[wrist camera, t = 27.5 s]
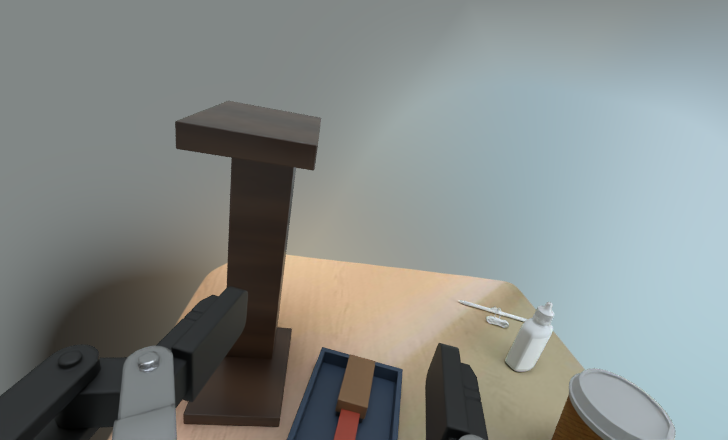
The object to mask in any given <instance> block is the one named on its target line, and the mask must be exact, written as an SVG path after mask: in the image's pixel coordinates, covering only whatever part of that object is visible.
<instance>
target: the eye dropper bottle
mask: <svg viewBox="0 0 728 440" xmlns="http://www.w3.org/2000/svg"><path fill="white" fill-rule="evenodd" d="M551 309H552V303H551V302H547V303H546V304H545V306H538V308H537V309H536V311H535V313H534V315H533V318H530V319H528V320H526V321H525V322H524V323H523V325H522V326H521V328H520V330H519V332H518V334H517V336H516V338H515V340H514V342H513V344H512V346H511V349H510V351H509V353H508V355H507V357H506V359H505V362H506V363H507V364H508V365H509V366H510V367H511V368H512V369H513V370H515V371H518V372H524V371H528V370H530V369H532V368H533V367H534V366H535V364H536V362H537V360H538V358H539V357H540V355H541V353H542V351H543V349H544V347H545V345H546V343H547V341H548V340H549V338H550V336H551V334H552V331H553V327H552V325H551V324H550V323H551V321H552V319H553V317H554V315H555V314H554V312H553V311H552V310H551Z"/></svg>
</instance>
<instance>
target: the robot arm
mask: <svg viewBox="0 0 728 440" xmlns="http://www.w3.org/2000/svg"><path fill="white" fill-rule="evenodd" d="M247 303H248V291H246V290H243V289H239V288H235V287H231V286H229V287H227V288H226V289H225V290H224V291H223V292H222V293H221V295H220V296H215V295H211V296H209V297H207V298H205V299H203V300H202V301H200V302H199V303H198V304H197V305H196V306H195V307H194V308H193V309H192V311H191V312H189V313H188V314H187V315H186V316H185V318H184V319H182V320H181V321H180V322H179V323H178V324H177V325H176V326H175V327H174V328H173V329H172V330H171V331H170V332H169V333H168V334H167V335H166V336H165V337H164V338H163V339H162V340H161V341H160V342H159V343H158V344H157V345H156V346H149V347H145V348H142V349H140V350H138V351H136V352H134V353H133V354H132V355H130V356H129V357H125V358H99V353H98V350H97V349H96V348H95V347H93V346H90V345H74V346H70V347H66V348H64V349H61V350H59V351H57V352H55V353H54V354H52V355H51V356H49V357H48V358H47V359H46V360H45V361H43V362H42V363H41V364H40V365H38V366H37V367H36V368H34V369H33V370H32V371H31V372H30V373H28V374H27V375H26V376H25V377H23V378H22V379H21V380H20V381H18V382H17V383H16V384H15V385H13V386H12V387H11V388H10V389H8V390H7V391H6V392H5V393H3V394H2V395H1V396H0V440H89V439H90V438H91V437H92V436H93V435H94V434H95V432H96V431H97V430H98V429H99V428H100V427H113V434H112V440H177V433H176V411H175V408H176V407H177V406H178V404H179V403H180V402H181V400H182V399H183V400H186V401H190V402H193V401H194V400H195V398H196V397H197V396H198V394H199V393H200V391H201V390H202V389H203V387H204V386H205V384H206V383H207V382H208V380H209V379H210V377H211V376H212V374H213V373H214V372H215V370H216V369H217V367H218V366H219V365H220V363H221V362H222V360H223V359H224V358H225V356H226V355H227V353H228V352H229V351H230V349H231V348H232V346H233V345H234V343H235V342H236V341H237V339H238V338H239V336H240V335H241V333H242V331H243V329H244V327H245V323H246V317H247ZM425 390H426V440H488V436H487V430H486V425H485V419H484V414H483V409H482V403H481V398H480V392H479V387H478V381H477V377H476V375H475V374H474V372H473V370H472V369H471V367H470V365H467V364H464V363H461V361H460V354H459V349H458V348H457V347H453V346H449V345H445V344H442V343H439V344H438V346H437V348H436V351H435V354H434V356H433V359H432V362H431V364H430V367H429V370H428V373H427V377H426V386H425Z"/></svg>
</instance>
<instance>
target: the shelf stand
mask: <svg viewBox="0 0 728 440" xmlns="http://www.w3.org/2000/svg"><path fill="white" fill-rule="evenodd" d="M320 122H321V118H318V117H313V116H308V115H302V114H297V113H292V112H286V111H281V110H276V109H270V108H265V107H259V106H254V105H248V104H243V103H238V102H232V101H226V102H224V103H221V104H219V105H216V106H214V107H211V108H209V109H206V110H203V111H201V112H198V113H196V114H193V115H191V116H188V117H185V118H183V119H180V120H178V121H176V122H175V128H176V148H177V149H181V150H188V151H194V152H200V153H206V154H213V155H219V156H225V157H232V163H231V189H230V216H229V242H228V268H227V287H229V286H231V287H235V288H239V289H243V290H246V291H248V303H247V317H246V323H245V327H244V329H243V331H242V333H241V335H240V336H239V338H238V339H237V341H236V342H235V343H234V345H233V346H232V348H231V349H230V351H229V352H228V353H227V355H226V356H225V358H224V359H223V360H222V362H221V363H220V365H219V366H218V367H217V369H216V370H215V372H214V373H213V374H212V376H211V377H210V379H209V380H208V382H207V383H206V384H205V386H204V387H203V389H202V390H201V391H200V393H199V394H198V396H197V397H196V398H195V400H194V401H193V402H190V401H189V402H188V405H187V407H186V409H185V412H184V424H214V425H245V426H276V427H278V426H279V421H280V414H281V406H282V399H283V391H284V384H285V376H286V369H287V361H288V354H289V347H290V339H291V332H292V329H291V328H279V327H277V326H278V318H279V309H280V300H281V292H282V283H283V275H284V266H285V257H286V249H287V240H288V231H289V223H290V214H291V206H292V197H293V188H294V180H295V171H296V168H301V169H308V170H314V169H315V162H316V153H317V147H318V139H319V131H320Z"/></svg>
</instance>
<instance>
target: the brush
mask: <svg viewBox="0 0 728 440" xmlns="http://www.w3.org/2000/svg"><path fill="white" fill-rule="evenodd" d="M374 368H375V361H372V360H369V359H365V358H361V357H358V356H354V355H349V359H348V363H347V367H346V370H345V374H344V378H343V381H342V385H341V389H340V393H339V396H338V400H337V404H336V409H335V411H336V416H338V417H339V420H338V424H337V428H336V432H335V436H334V440H355V438H356V433H357V427H358V422H359V423H362V421H363V419H365V416H366V412H367V409H368V403H369V397H370V392H371V386H372V380H373V374H374Z"/></svg>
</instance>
